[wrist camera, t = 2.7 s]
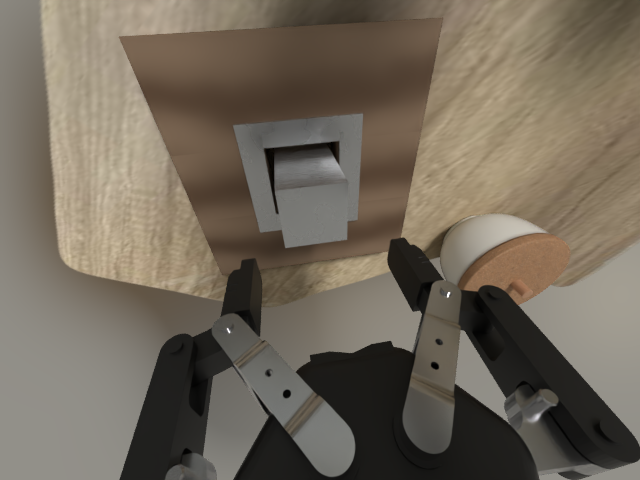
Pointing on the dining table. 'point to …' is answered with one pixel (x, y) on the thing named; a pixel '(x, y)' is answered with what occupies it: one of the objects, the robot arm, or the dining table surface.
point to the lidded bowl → (502, 255)
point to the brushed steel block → (310, 195)
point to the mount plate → (290, 124)
